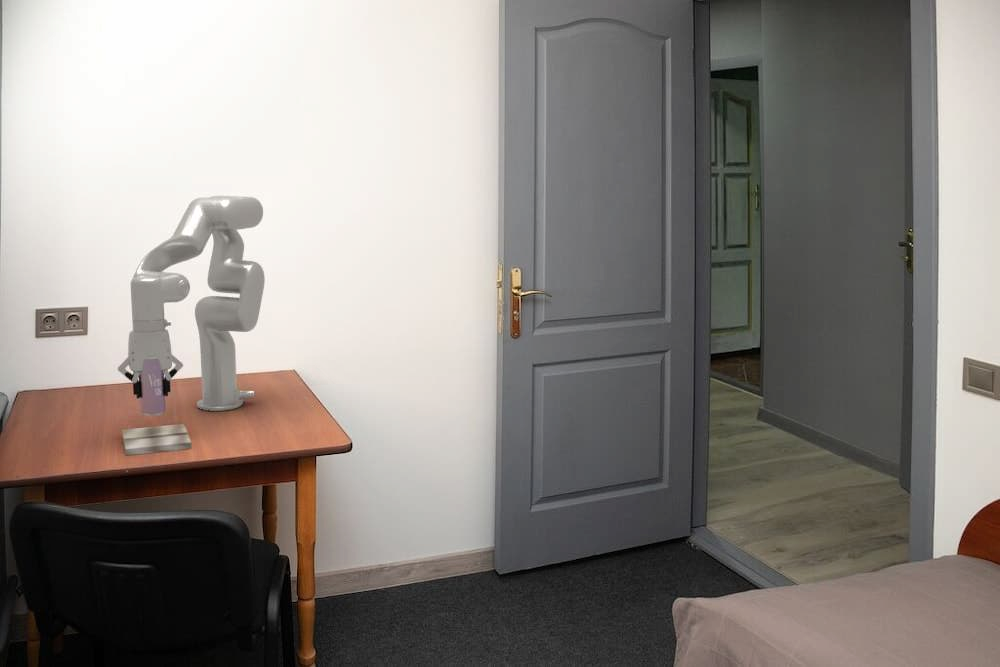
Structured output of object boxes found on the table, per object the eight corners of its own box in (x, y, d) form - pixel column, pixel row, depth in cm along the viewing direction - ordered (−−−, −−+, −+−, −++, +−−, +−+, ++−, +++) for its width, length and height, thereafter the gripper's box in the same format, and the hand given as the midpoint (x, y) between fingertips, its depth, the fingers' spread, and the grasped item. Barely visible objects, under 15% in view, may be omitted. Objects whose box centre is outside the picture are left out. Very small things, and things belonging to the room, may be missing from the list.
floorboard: (187, 439, 237) (187, 433, 237) (191, 448, 230) (191, 442, 230) (124, 445, 231) (123, 439, 231) (125, 455, 224) (125, 449, 224)
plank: (183, 429, 246) (183, 423, 245) (187, 438, 238) (187, 432, 238) (122, 435, 239) (122, 429, 239) (124, 444, 232) (123, 438, 232)
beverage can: (160, 408, 241) (158, 351, 239) (169, 413, 237) (166, 355, 234) (137, 412, 238) (134, 354, 235) (145, 417, 233) (142, 358, 230)
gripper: (183, 321, 240) (186, 390, 243) (110, 325, 233) (114, 395, 236) (186, 326, 233) (189, 396, 237) (112, 330, 226) (116, 402, 230)
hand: (152, 395), depth 237 cm, fingers closed on beverage can, 6 cm apart
